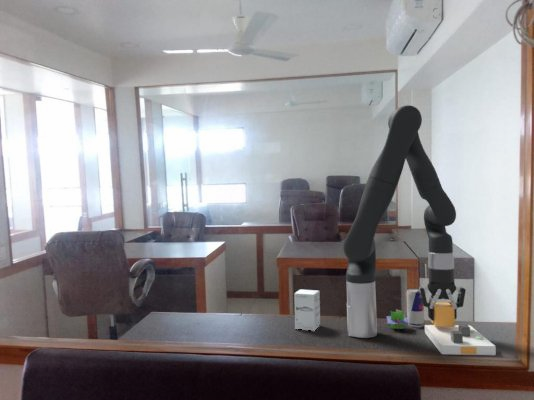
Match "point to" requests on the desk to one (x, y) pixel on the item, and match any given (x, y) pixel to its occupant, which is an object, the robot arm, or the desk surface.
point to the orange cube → (444, 315)
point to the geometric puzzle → (397, 320)
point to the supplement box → (307, 309)
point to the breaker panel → (470, 344)
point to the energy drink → (415, 309)
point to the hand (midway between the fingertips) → (442, 319)
